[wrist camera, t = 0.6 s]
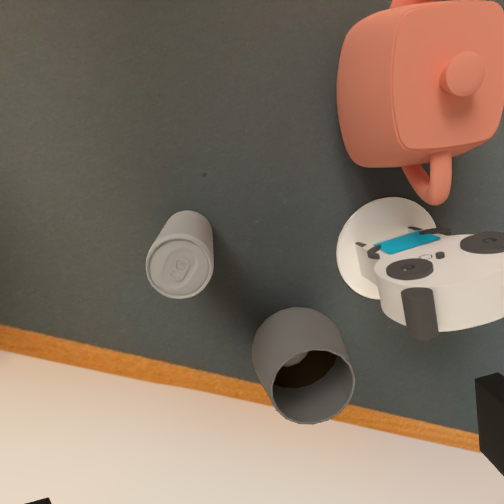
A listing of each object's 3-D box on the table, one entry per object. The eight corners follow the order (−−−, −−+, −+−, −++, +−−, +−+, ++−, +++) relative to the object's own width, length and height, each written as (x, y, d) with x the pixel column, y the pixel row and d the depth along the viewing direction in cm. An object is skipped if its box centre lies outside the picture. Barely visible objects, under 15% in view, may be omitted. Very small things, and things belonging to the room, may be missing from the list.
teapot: (440, 186, 39) (537, 200, 27) (331, 200, 38) (384, 221, 27) (445, -35, 34) (568, -133, 22) (318, -24, 33) (377, -121, 21)
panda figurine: (435, 182, 39) (568, 199, 24) (447, 279, 42) (572, 346, 27) (326, 214, 38) (396, 250, 24) (347, 310, 41) (420, 394, 27)
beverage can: (220, 223, 37) (225, 254, 26) (199, 263, 38) (194, 311, 27) (177, 200, 36) (162, 222, 25) (155, 243, 37) (132, 283, 26)
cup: (232, 352, 41) (239, 412, 32) (271, 280, 40) (291, 321, 30) (304, 381, 43) (332, 446, 34) (345, 314, 42) (385, 363, 32)
